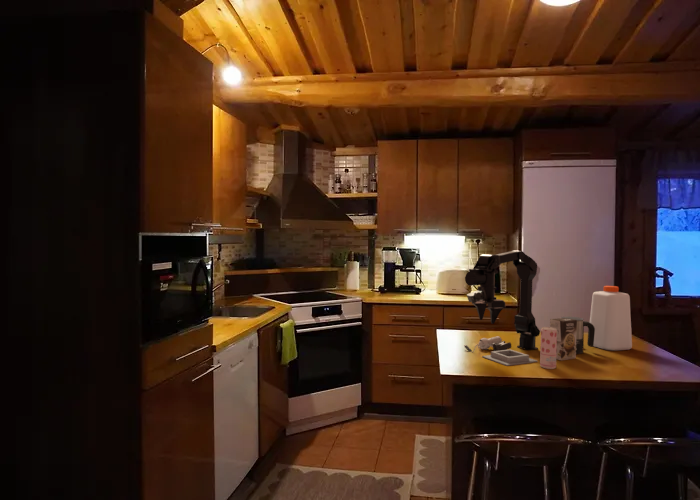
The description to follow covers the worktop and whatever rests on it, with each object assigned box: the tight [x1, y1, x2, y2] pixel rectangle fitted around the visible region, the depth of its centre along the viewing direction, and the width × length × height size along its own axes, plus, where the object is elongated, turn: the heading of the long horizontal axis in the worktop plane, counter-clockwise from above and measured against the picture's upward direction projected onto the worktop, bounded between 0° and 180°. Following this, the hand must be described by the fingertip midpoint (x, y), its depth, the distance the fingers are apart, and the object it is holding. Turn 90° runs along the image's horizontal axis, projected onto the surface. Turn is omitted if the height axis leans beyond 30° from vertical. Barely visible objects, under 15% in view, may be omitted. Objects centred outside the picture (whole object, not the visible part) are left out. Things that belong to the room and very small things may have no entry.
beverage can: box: [539, 326, 557, 370], centre depth 178 cm, size 6×6×15 cm
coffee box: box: [549, 317, 577, 361], centre depth 192 cm, size 9×6×16 cm
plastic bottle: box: [589, 285, 633, 352], centre depth 213 cm, size 15×15×28 cm
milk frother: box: [560, 316, 595, 355], centre depth 207 cm, size 14×16×15 cm
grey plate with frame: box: [481, 348, 539, 367], centre depth 188 cm, size 16×14×2 cm
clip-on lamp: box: [463, 335, 512, 353], centre depth 202 cm, size 12×6×18 cm
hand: (486, 321), depth 194 cm, fingers open, 9 cm apart
